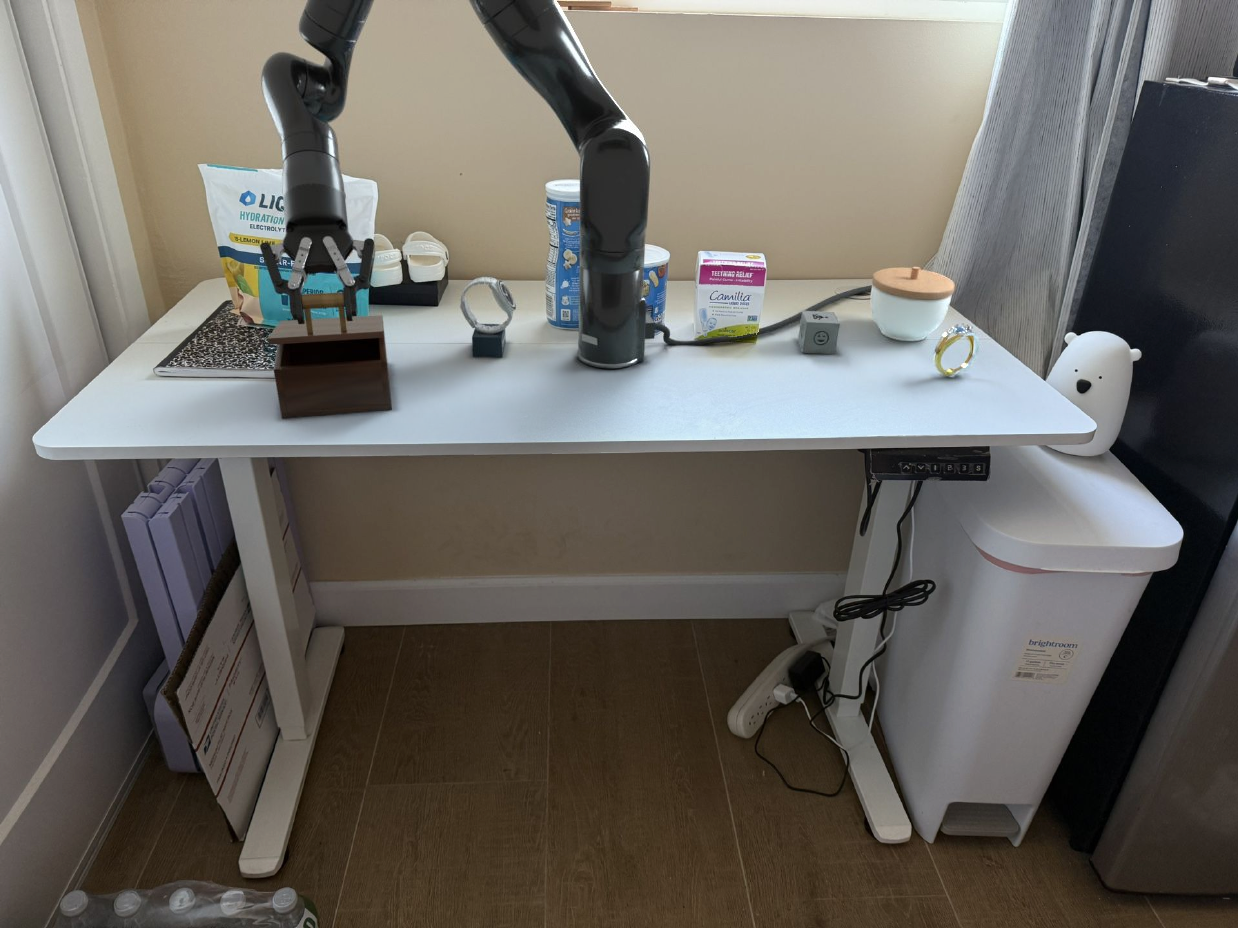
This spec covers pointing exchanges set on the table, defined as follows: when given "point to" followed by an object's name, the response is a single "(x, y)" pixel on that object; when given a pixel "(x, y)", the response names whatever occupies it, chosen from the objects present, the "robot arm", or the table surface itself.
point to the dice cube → (818, 332)
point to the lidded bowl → (909, 302)
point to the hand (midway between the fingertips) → (325, 319)
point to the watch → (489, 336)
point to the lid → (326, 323)
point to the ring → (944, 345)
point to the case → (332, 377)
